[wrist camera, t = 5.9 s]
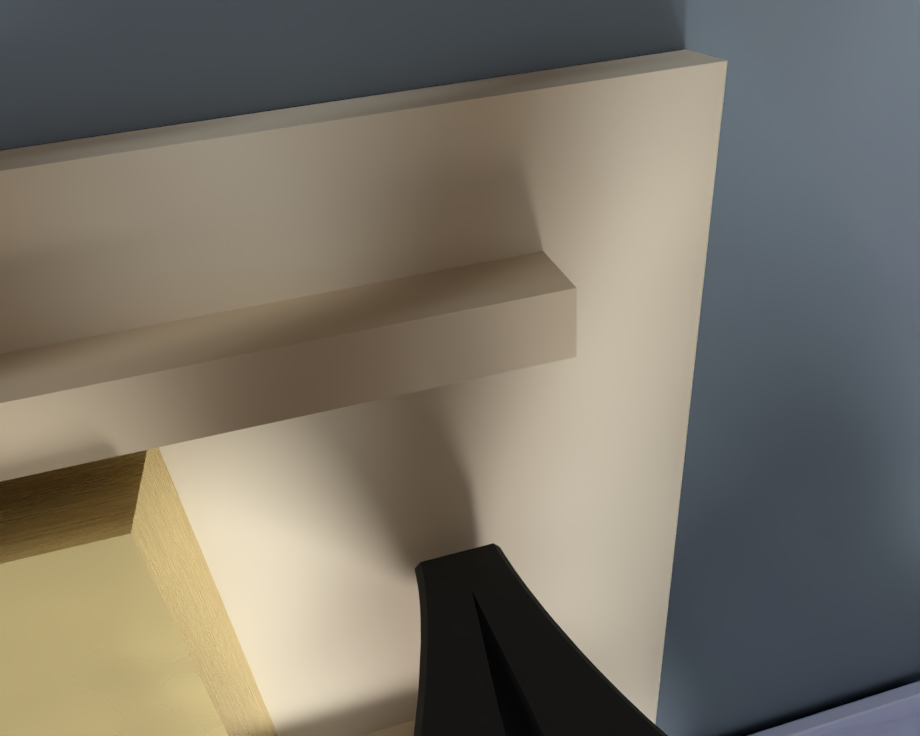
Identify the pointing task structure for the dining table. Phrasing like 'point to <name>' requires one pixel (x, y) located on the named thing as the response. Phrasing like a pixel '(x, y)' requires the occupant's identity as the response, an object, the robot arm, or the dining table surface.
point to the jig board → (383, 355)
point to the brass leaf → (114, 611)
